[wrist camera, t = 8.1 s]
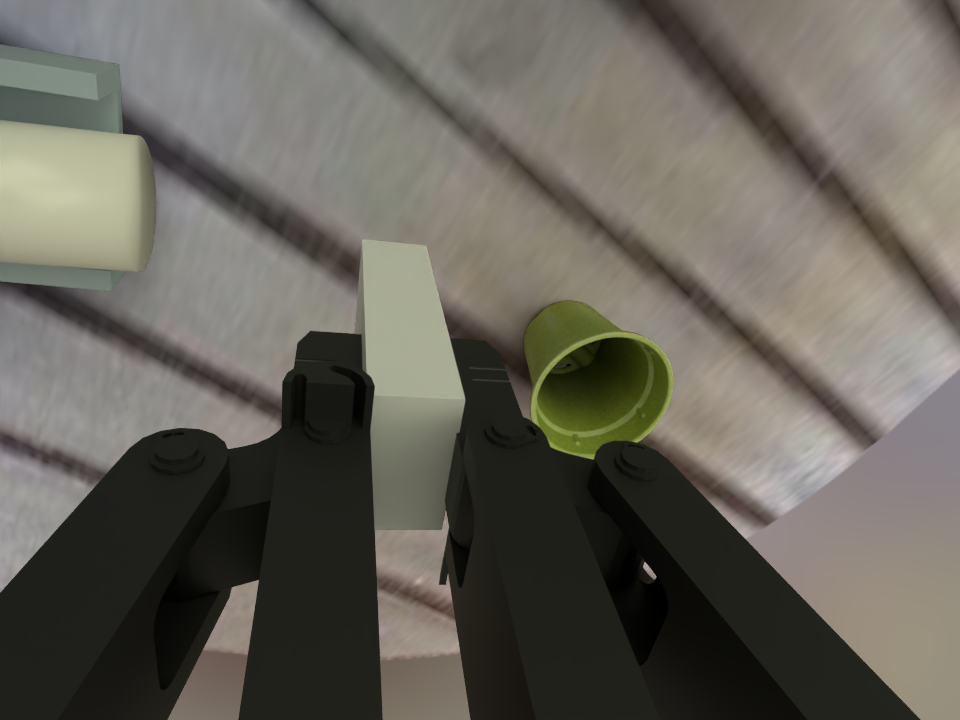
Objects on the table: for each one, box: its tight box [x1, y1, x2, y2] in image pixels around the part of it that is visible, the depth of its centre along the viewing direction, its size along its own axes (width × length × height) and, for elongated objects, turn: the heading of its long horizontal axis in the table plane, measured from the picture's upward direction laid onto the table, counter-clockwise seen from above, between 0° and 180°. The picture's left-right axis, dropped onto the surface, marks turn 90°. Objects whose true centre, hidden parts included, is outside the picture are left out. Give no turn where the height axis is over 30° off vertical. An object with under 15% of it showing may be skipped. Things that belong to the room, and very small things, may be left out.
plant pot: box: [524, 301, 673, 459], centre depth 46 cm, size 9×9×9 cm
